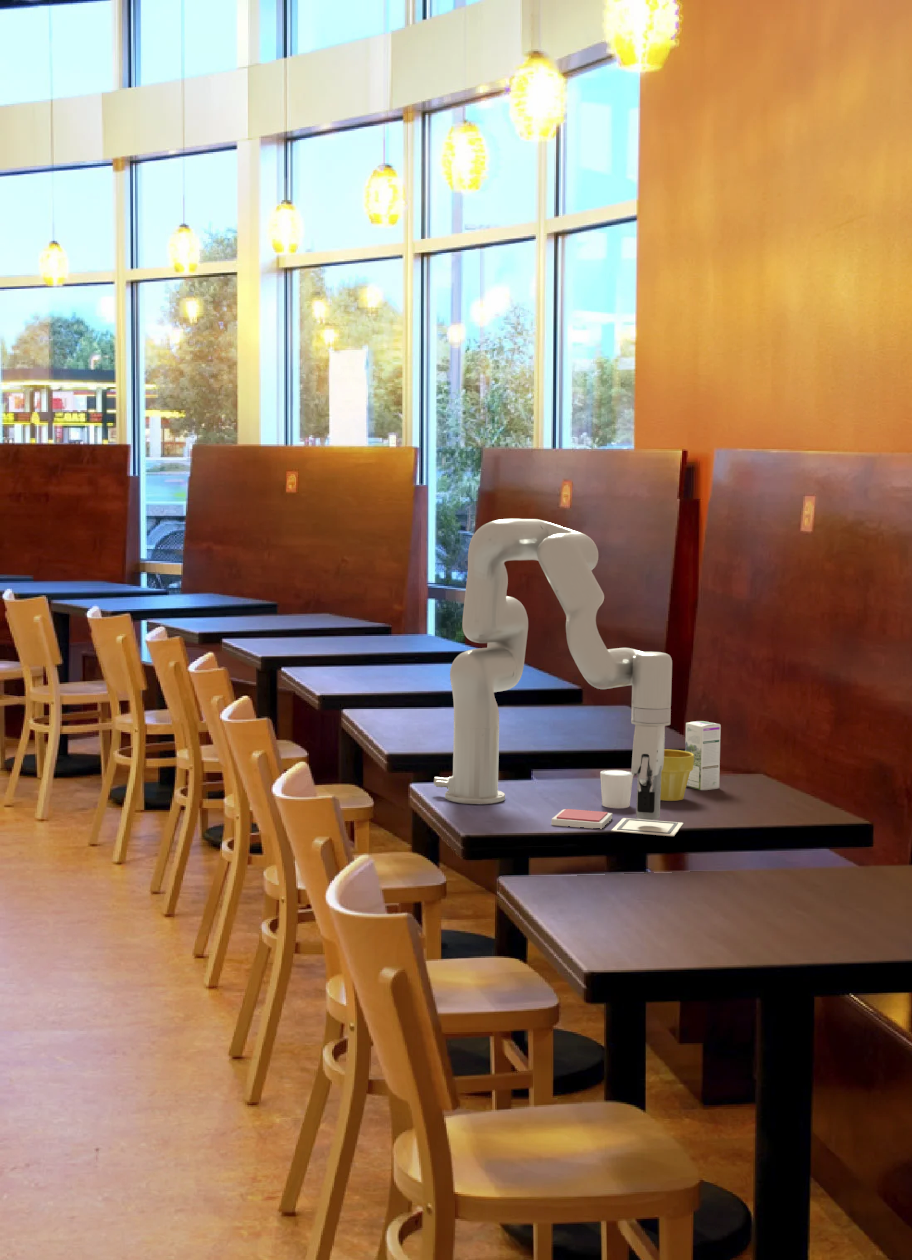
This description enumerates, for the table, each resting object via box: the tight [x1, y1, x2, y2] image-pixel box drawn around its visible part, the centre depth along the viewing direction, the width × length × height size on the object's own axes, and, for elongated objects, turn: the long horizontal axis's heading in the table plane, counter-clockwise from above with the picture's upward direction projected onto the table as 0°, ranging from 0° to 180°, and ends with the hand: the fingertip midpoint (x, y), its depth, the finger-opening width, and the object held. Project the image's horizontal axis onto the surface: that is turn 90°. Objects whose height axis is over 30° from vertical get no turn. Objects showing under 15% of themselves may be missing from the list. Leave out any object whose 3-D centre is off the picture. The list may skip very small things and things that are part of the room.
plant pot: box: [660, 748, 694, 802], centre depth 326 cm, size 10×10×10 cm
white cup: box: [599, 769, 634, 809], centre depth 318 cm, size 7×7×7 cm
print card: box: [610, 817, 684, 837], centre depth 297 cm, size 12×12×1 cm
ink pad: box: [550, 808, 613, 830], centre depth 300 cm, size 10×10×2 cm
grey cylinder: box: [635, 766, 662, 821], centre depth 296 cm, size 4×4×10 cm
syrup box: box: [684, 720, 722, 791], centre depth 339 cm, size 6×6×14 cm
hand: (648, 808), depth 296 cm, fingers closed on grey cylinder, 4 cm apart
